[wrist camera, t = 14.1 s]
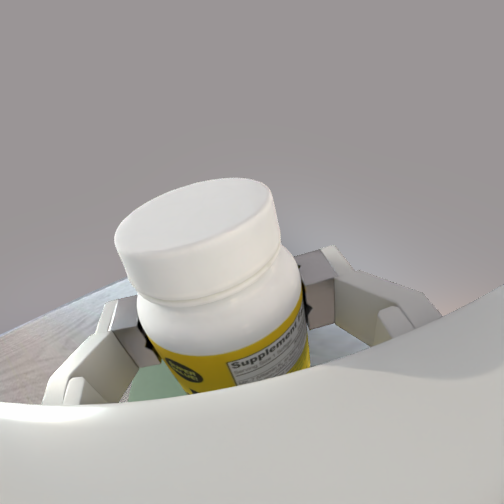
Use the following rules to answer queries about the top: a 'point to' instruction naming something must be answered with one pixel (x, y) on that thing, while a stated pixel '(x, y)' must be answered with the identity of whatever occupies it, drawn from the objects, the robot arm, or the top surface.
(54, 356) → the top surface
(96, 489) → the robot arm
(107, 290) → the top surface
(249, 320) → the supplement bottle
